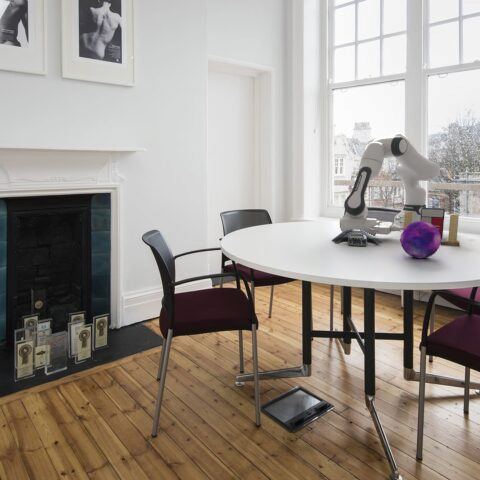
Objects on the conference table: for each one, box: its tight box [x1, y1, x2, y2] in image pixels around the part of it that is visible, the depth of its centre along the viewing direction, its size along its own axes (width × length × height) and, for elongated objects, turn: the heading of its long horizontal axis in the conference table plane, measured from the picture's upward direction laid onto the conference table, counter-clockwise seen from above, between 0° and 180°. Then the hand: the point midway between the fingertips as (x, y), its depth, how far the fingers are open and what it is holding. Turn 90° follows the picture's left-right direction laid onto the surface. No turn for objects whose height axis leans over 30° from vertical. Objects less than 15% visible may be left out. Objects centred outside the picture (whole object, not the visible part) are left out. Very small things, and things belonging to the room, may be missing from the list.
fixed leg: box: [446, 213, 460, 243], centre depth 206 cm, size 5×5×13 cm
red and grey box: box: [420, 207, 446, 238], centre depth 228 cm, size 11×4×15 cm, turn 62°
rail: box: [399, 237, 460, 247], centre depth 211 cm, size 26×7×2 cm, turn 65°
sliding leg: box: [403, 211, 413, 230], centre depth 214 cm, size 5×5×13 cm
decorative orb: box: [399, 221, 441, 259], centre depth 176 cm, size 15×15×15 cm
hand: (401, 229), depth 216 cm, fingers closed
